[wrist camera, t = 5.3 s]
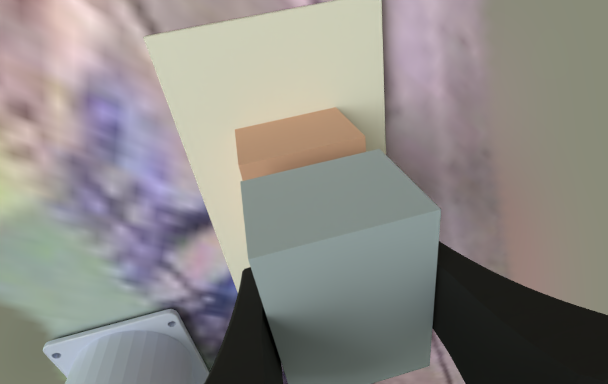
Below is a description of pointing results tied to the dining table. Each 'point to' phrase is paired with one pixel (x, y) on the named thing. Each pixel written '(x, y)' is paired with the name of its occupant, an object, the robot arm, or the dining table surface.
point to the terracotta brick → (296, 143)
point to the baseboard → (267, 90)
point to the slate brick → (344, 268)
